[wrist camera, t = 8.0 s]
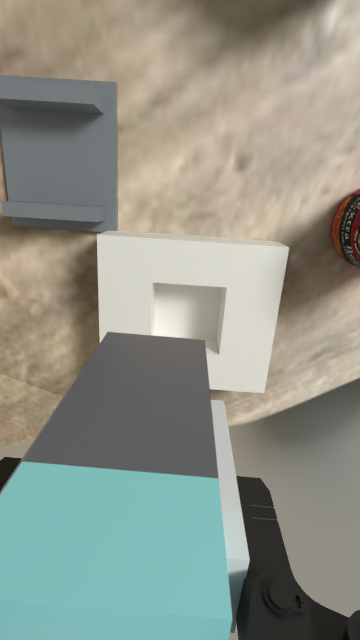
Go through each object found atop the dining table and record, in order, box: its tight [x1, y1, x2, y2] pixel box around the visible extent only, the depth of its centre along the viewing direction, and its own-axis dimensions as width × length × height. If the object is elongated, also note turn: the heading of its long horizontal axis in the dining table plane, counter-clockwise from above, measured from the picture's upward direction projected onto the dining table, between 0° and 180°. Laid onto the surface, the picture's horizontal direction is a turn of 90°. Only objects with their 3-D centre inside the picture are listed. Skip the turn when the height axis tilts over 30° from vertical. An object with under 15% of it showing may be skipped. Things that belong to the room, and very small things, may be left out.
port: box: [97, 231, 289, 393], centre depth 32 cm, size 16×14×4 cm
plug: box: [0, 332, 233, 640], centre depth 12 cm, size 5×5×12 cm
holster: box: [0, 75, 118, 232], centre depth 28 cm, size 10×12×4 cm
